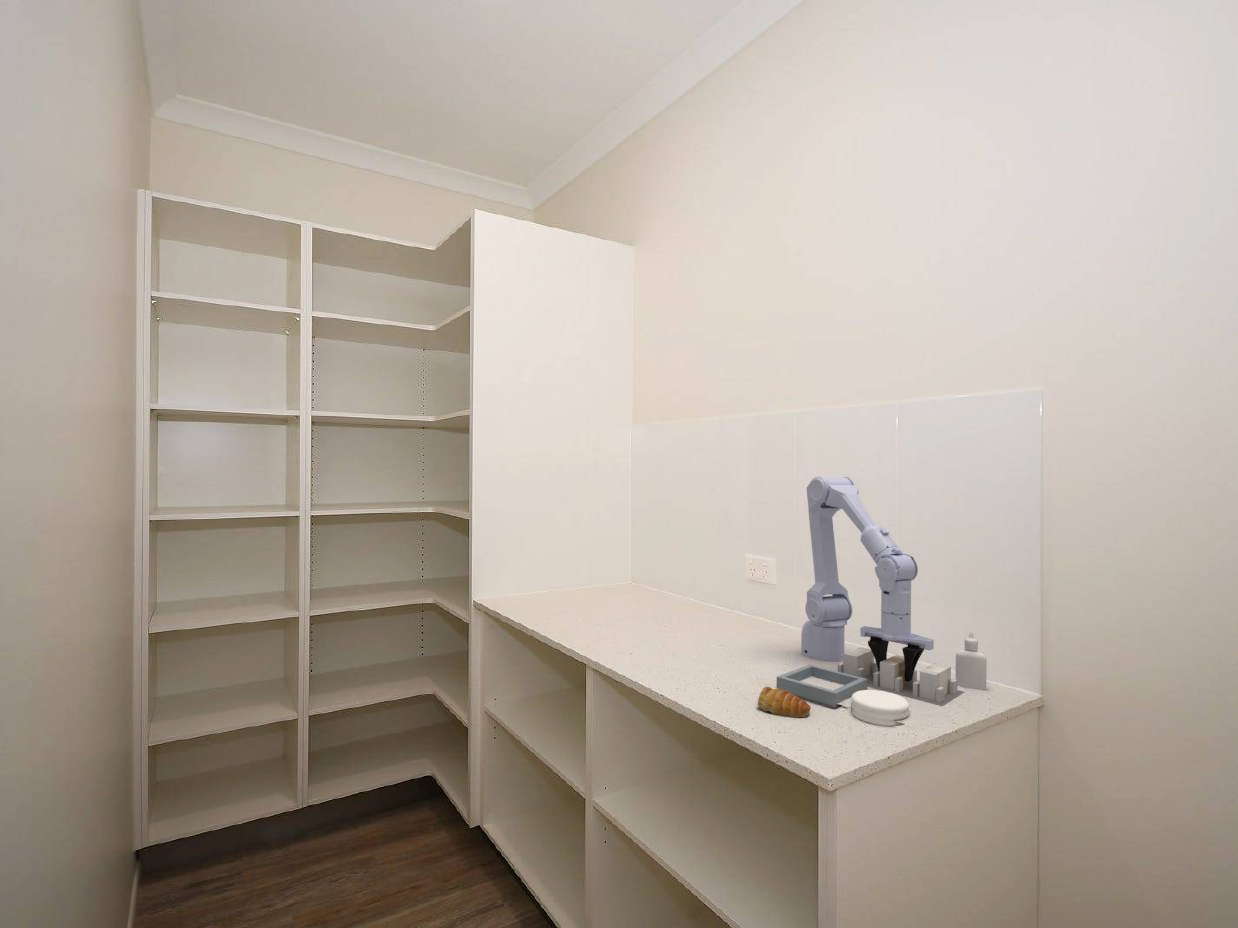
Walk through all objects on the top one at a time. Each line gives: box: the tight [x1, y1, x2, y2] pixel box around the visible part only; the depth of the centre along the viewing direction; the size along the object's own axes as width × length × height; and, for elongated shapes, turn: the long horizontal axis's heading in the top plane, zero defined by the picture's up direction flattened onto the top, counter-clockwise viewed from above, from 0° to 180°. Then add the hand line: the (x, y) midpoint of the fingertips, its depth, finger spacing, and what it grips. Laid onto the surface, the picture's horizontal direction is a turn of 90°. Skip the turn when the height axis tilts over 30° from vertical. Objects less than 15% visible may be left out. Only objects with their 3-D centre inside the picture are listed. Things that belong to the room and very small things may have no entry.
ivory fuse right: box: [919, 663, 952, 701], centre depth 127 cm, size 3×8×5 cm, turn 133°
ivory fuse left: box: [842, 646, 875, 676], centre depth 139 cm, size 3×8×5 cm, turn 133°
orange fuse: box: [880, 654, 909, 690], centre depth 133 cm, size 3×8×5 cm, turn 133°
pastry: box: [757, 686, 812, 718], centre depth 120 cm, size 9×7×4 cm
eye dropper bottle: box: [955, 632, 988, 691], centre depth 132 cm, size 4×6×12 cm
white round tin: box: [850, 689, 911, 727], centre depth 118 cm, size 10×10×4 cm
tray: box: [776, 664, 868, 710], centre depth 130 cm, size 13×13×3 cm
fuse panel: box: [836, 661, 965, 707], centre depth 133 cm, size 23×12×4 cm, turn 43°
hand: (895, 677), depth 133 cm, fingers open, 5 cm apart
